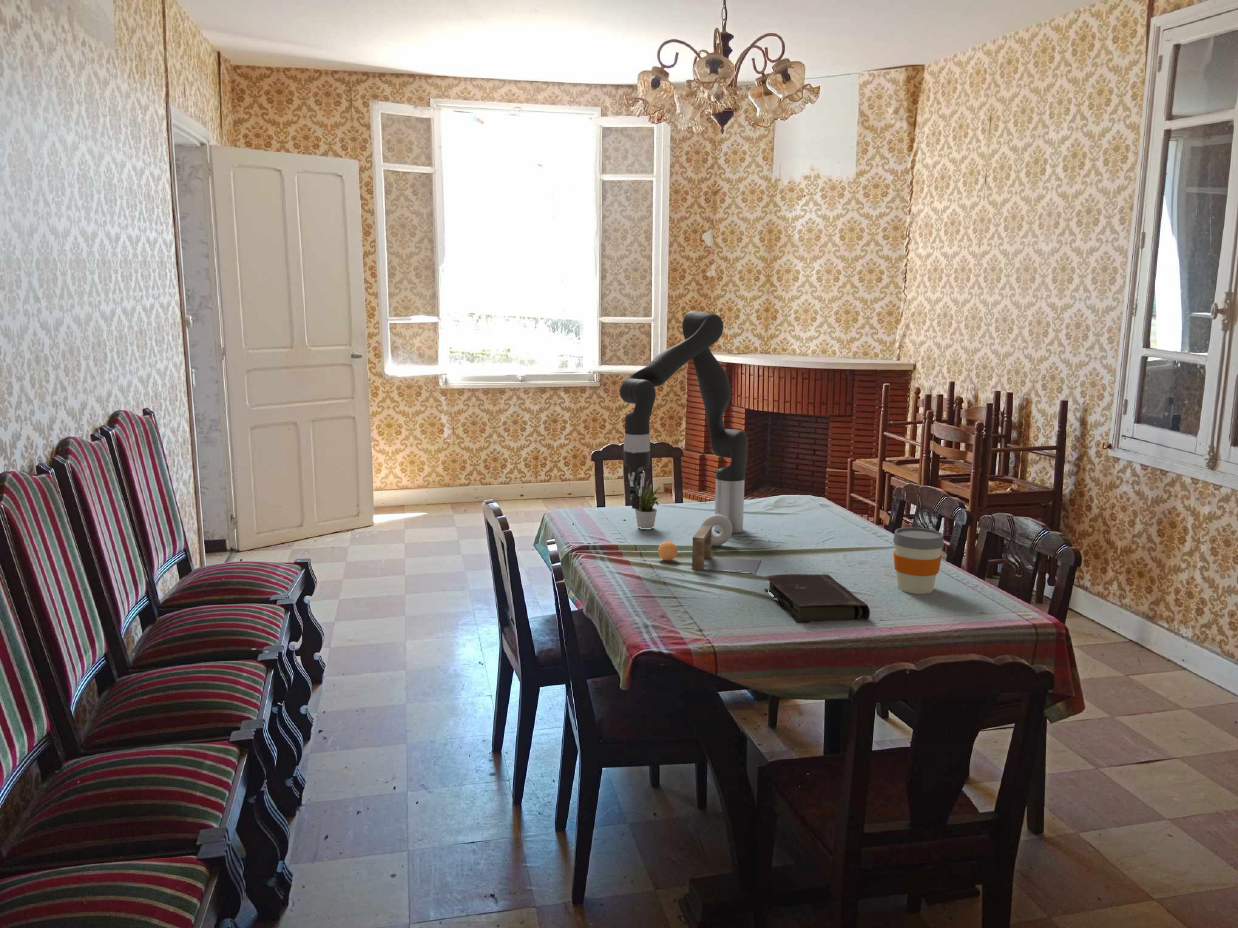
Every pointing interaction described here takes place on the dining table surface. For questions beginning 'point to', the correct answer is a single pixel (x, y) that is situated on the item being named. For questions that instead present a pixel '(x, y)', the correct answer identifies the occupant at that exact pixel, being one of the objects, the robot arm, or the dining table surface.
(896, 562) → the reusable coffee cup
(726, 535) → the donut
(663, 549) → the ball
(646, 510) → the house plant
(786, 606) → the diary
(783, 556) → the dining table surface
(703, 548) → the bridge
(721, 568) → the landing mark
